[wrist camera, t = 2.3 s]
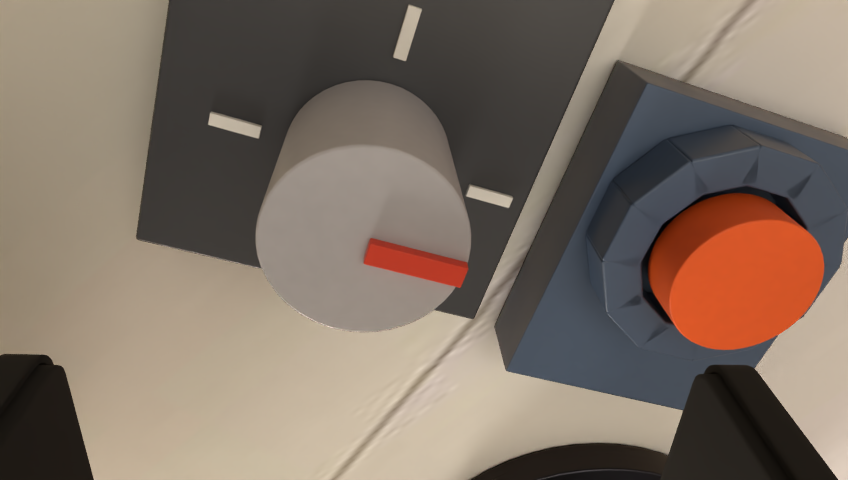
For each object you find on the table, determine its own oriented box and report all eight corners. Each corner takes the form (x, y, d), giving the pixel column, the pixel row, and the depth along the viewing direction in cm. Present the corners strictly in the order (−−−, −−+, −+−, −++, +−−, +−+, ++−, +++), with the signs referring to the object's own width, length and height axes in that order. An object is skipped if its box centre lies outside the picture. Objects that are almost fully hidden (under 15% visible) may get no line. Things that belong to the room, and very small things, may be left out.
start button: (622, 298, 20) (642, 332, 19) (692, 175, 19) (720, 201, 17) (741, 329, 21) (769, 364, 20) (819, 214, 19) (857, 242, 18)
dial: (267, 211, 19) (234, 316, 15) (305, 56, 17) (278, 121, 13) (420, 250, 20) (433, 359, 16) (473, 108, 18) (505, 186, 14)
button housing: (493, 326, 26) (514, 406, 22) (617, 59, 21) (672, 101, 17) (690, 372, 28) (741, 454, 24) (845, 137, 23) (942, 191, 19)
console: (163, 197, 22) (133, 243, 20) (225, -203, 17) (196, -218, 14) (463, 273, 25) (474, 323, 22) (602, -60, 19) (639, -48, 16)
